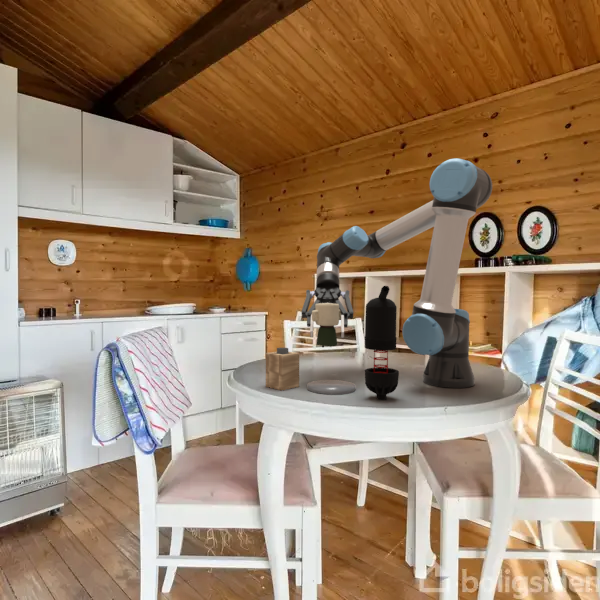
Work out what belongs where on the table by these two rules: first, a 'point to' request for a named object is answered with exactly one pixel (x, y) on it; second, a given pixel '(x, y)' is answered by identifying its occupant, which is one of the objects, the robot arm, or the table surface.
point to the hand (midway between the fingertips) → (327, 334)
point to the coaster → (331, 387)
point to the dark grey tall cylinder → (282, 350)
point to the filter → (381, 343)
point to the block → (282, 370)
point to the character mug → (326, 323)
